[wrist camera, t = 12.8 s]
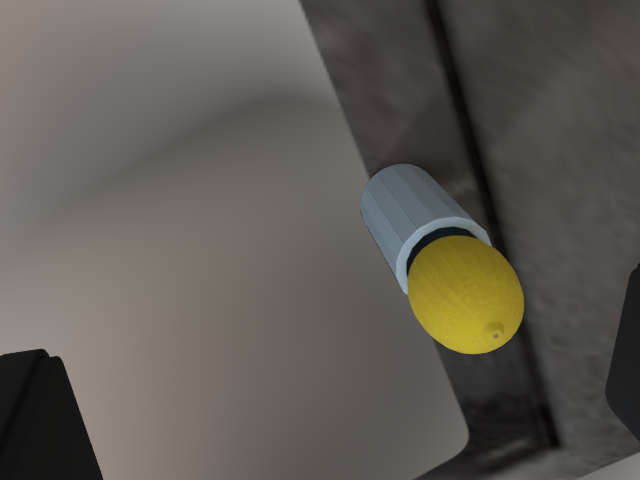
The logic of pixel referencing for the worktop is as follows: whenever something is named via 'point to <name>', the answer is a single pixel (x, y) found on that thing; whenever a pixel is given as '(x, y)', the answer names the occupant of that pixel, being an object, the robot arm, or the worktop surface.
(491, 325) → the lemon
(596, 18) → the worktop surface
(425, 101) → the worktop surface
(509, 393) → the worktop surface
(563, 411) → the worktop surface
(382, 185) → the cup
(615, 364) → the robot arm
